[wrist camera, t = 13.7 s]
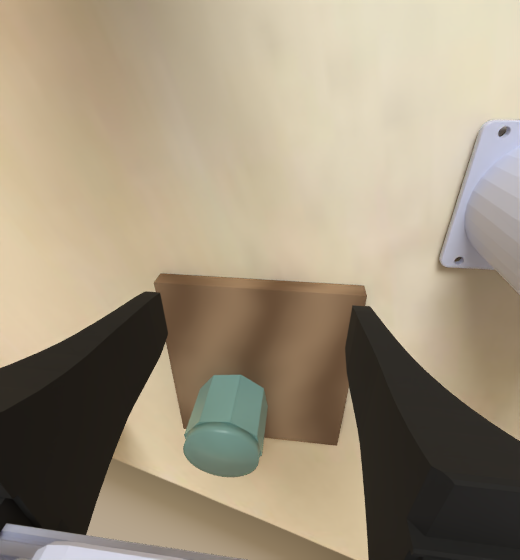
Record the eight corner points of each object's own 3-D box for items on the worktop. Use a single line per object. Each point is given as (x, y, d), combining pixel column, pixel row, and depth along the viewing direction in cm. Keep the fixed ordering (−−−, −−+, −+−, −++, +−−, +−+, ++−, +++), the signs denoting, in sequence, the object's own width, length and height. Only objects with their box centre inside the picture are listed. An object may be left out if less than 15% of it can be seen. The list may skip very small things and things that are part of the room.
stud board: (364, 285, 22) (374, 326, 18) (336, 433, 30) (339, 480, 27) (160, 273, 23) (134, 309, 20) (187, 417, 32) (172, 460, 28)
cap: (195, 375, 27) (173, 431, 23) (260, 374, 26) (251, 432, 22) (210, 418, 29) (194, 475, 25) (270, 418, 28) (264, 478, 24)
